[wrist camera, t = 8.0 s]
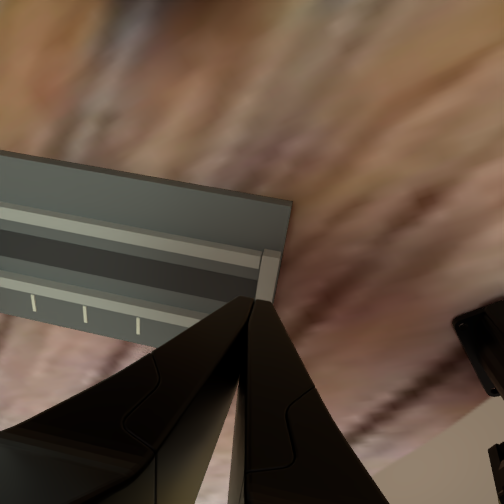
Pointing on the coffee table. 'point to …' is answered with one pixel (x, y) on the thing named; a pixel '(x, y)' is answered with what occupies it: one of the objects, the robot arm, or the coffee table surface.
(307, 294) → the coffee table surface
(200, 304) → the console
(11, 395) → the coffee table surface
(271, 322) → the robot arm
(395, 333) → the coffee table surface
